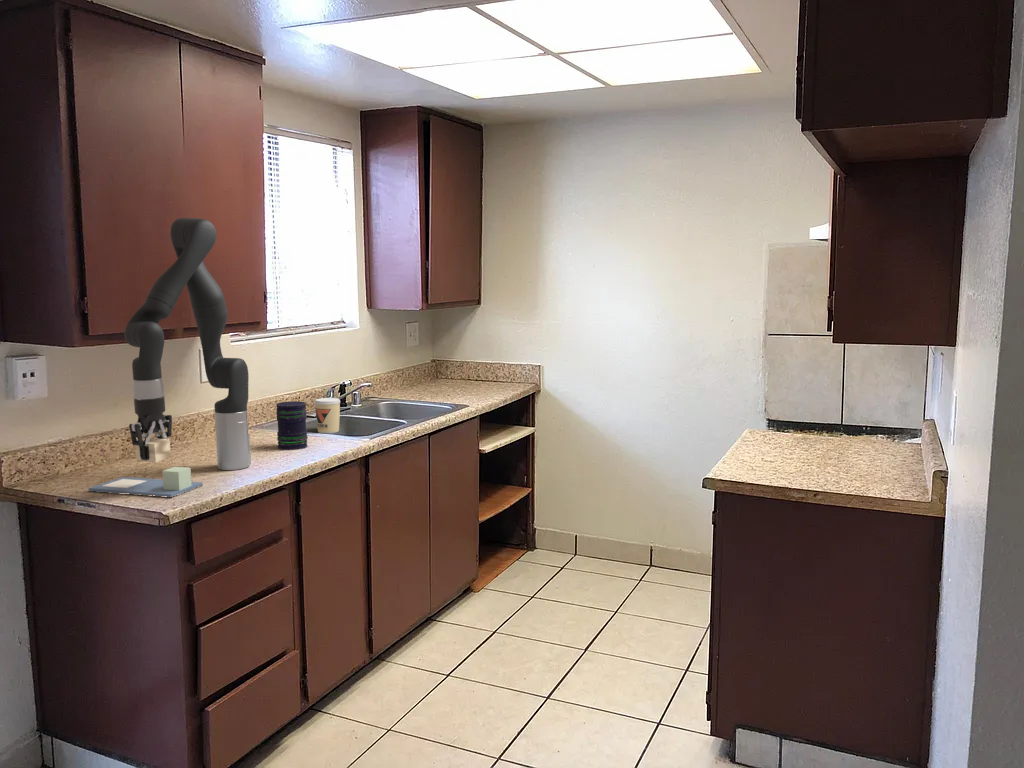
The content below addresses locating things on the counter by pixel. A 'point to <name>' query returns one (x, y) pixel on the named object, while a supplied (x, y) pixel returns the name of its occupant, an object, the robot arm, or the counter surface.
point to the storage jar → (291, 425)
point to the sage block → (176, 478)
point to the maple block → (156, 450)
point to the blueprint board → (139, 487)
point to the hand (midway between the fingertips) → (153, 456)
